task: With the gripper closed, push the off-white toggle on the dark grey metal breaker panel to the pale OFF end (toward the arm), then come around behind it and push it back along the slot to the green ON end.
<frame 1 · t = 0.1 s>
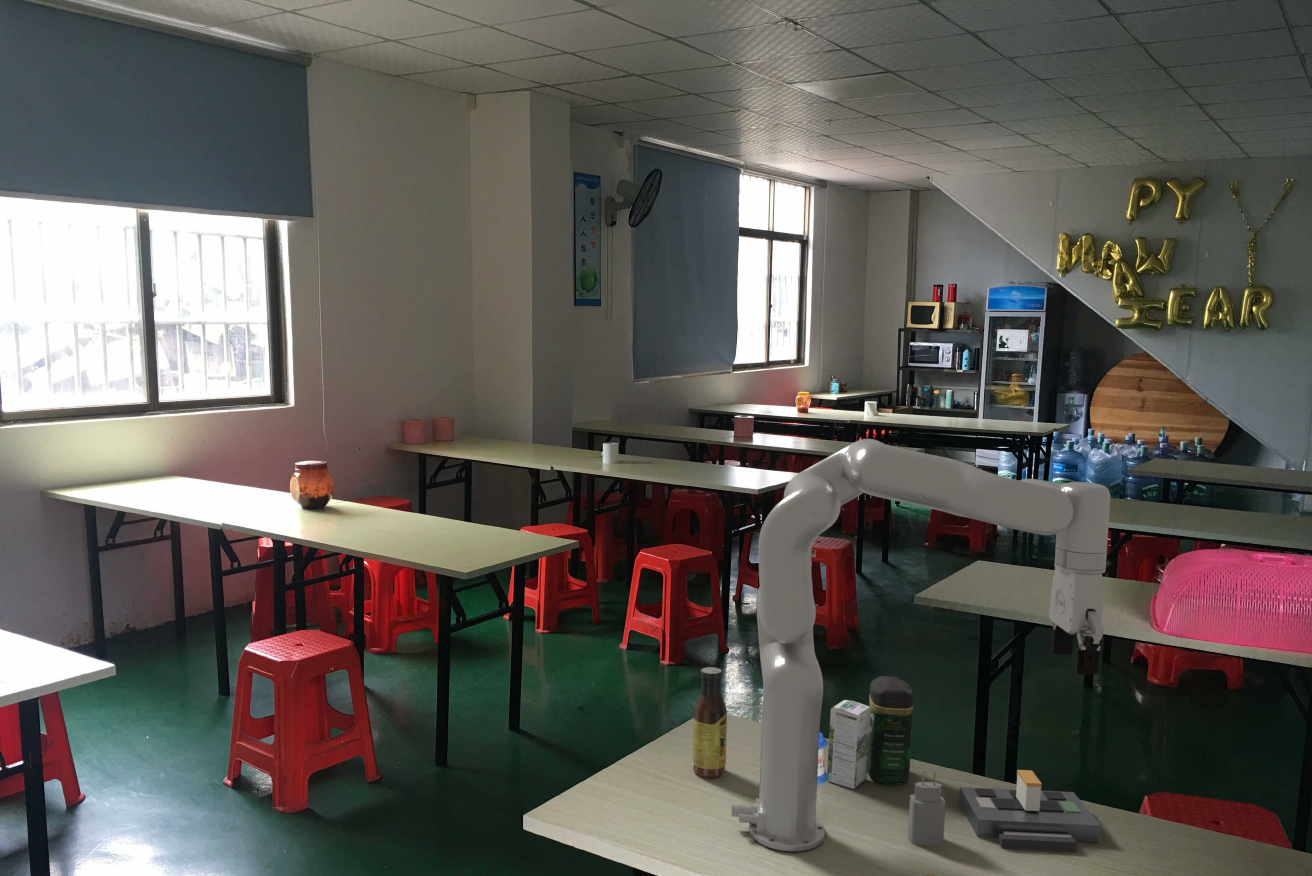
hand: (1073, 663, 158), 31 cm above the table, fingers open, 9 cm apart
syrup box: (847, 781, 184), on the table
coffee jar: (887, 776, 186), on the table
cord bundle back: (1001, 799, 177), on the table
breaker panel: (1026, 821, 169), on the table
dark grey bar: (1037, 847, 161), on the table
sauce bottle: (708, 772, 186), on the table
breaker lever: (1028, 790, 168), point 6 cm above the table, slide at 4.0 cm
power adapter: (925, 841, 162), on the table
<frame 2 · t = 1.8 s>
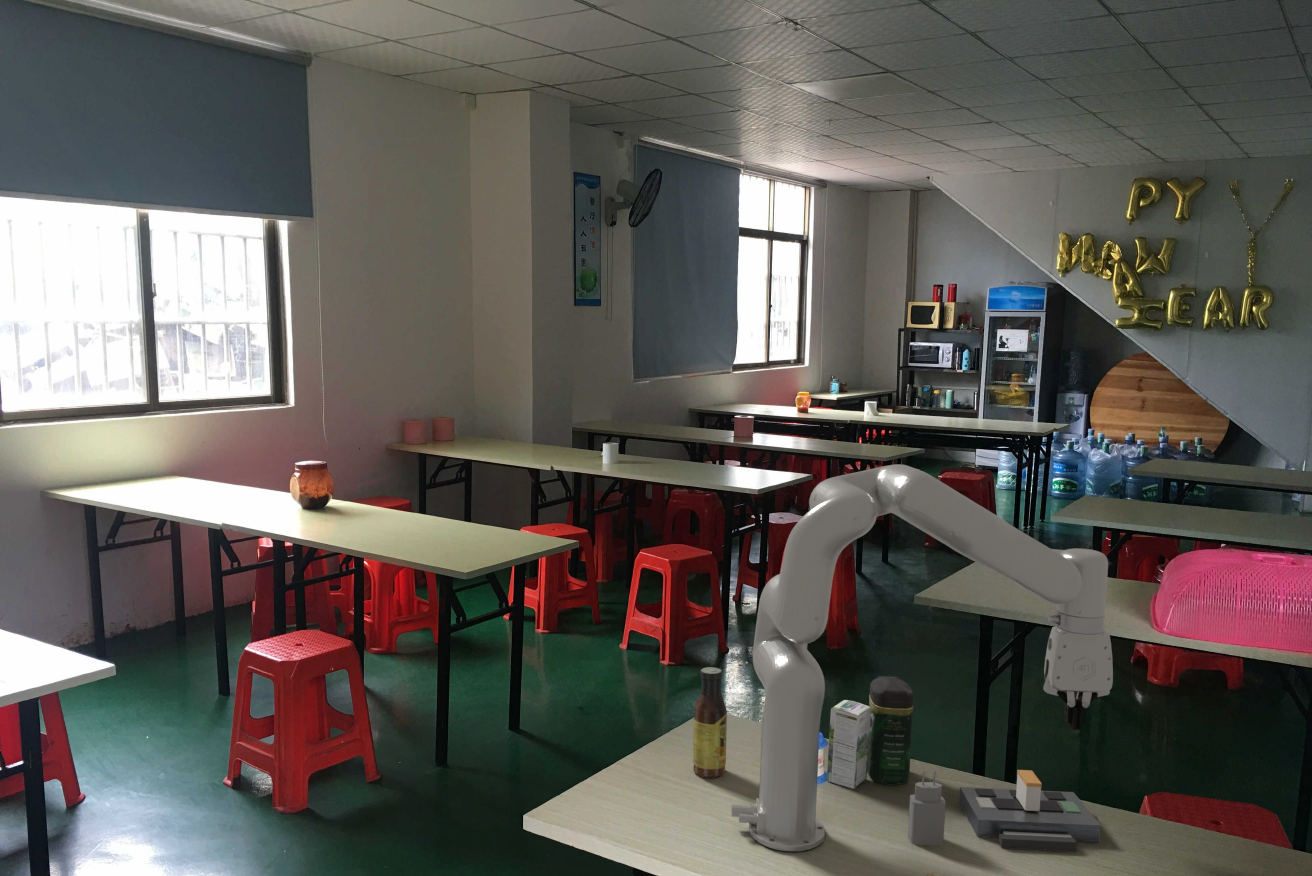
hand: (1074, 726, 167), 17 cm above the table, fingers closed
nothing on the table moved.
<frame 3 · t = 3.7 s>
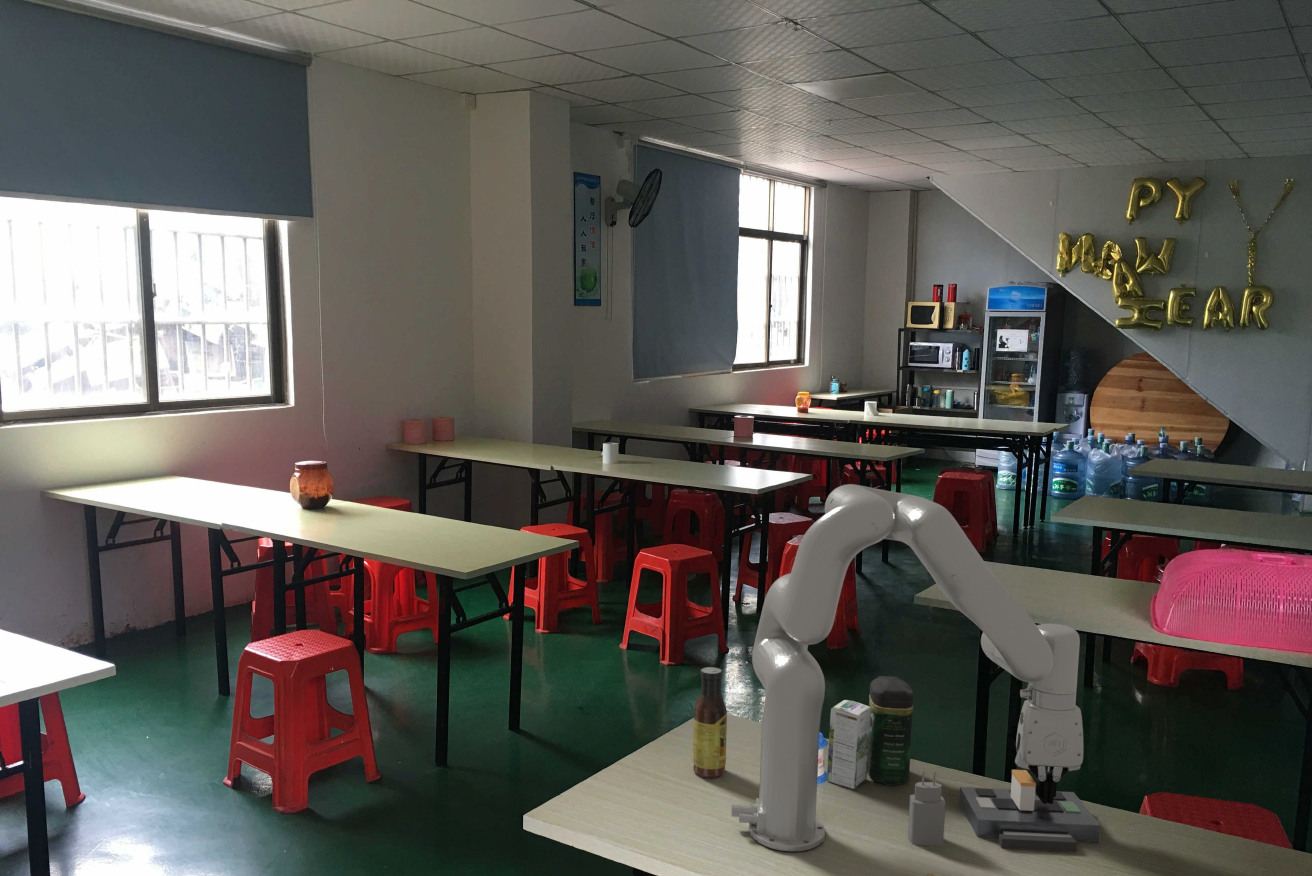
hand: (1045, 799, 168), 4 cm above the table, fingers closed
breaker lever: (1022, 789, 169), point 6 cm above the table, slide at 3.0 cm, touching gripper
everything else where it was.
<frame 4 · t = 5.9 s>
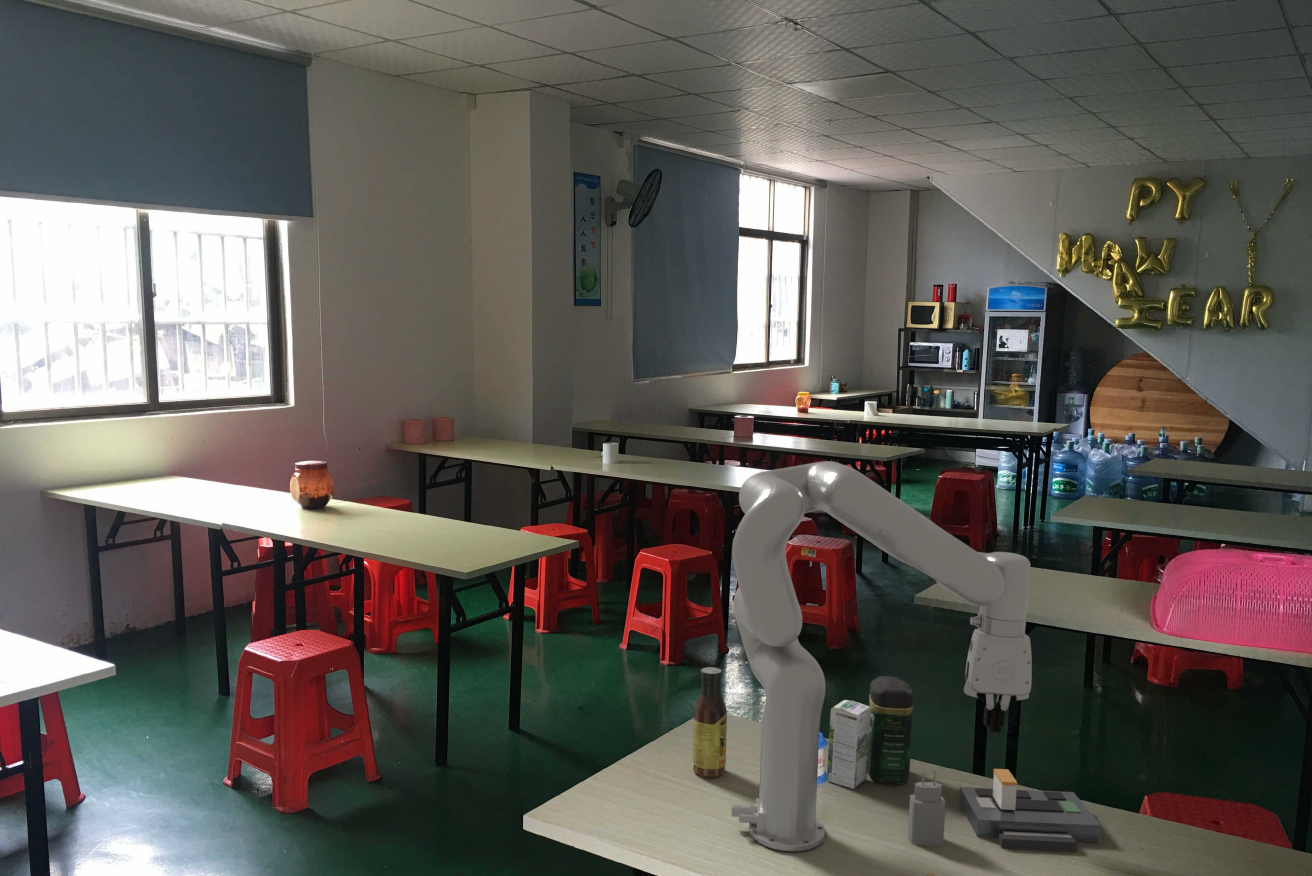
hand: (992, 729, 168), 16 cm above the table, fingers closed
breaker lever: (1004, 788, 169), point 6 cm above the table, slide at -0.1 cm
everything else where it was.
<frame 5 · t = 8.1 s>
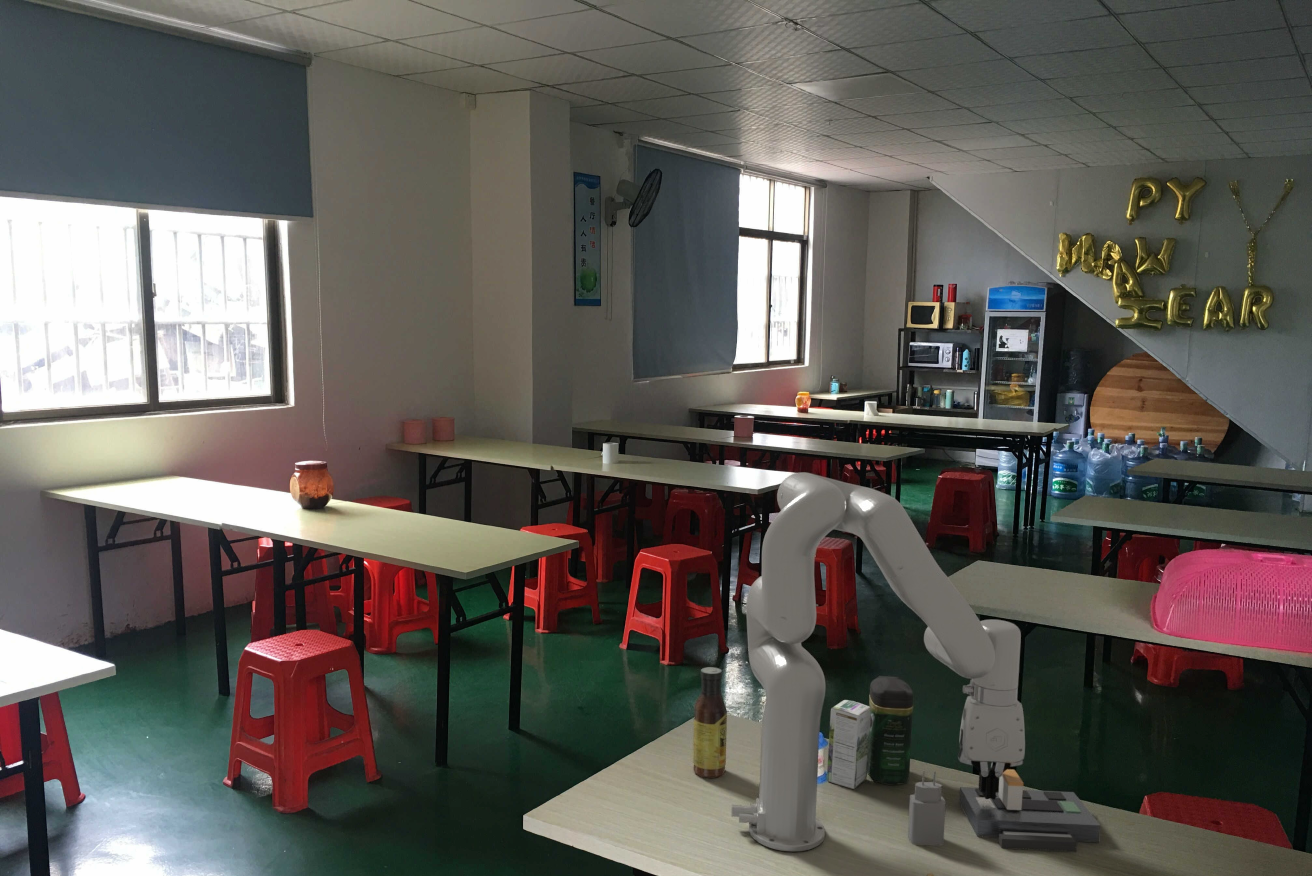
hand: (988, 795, 169), 4 cm above the table, fingers closed
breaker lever: (1010, 789, 169), point 6 cm above the table, slide at 1.0 cm, touching gripper
everything else where it was.
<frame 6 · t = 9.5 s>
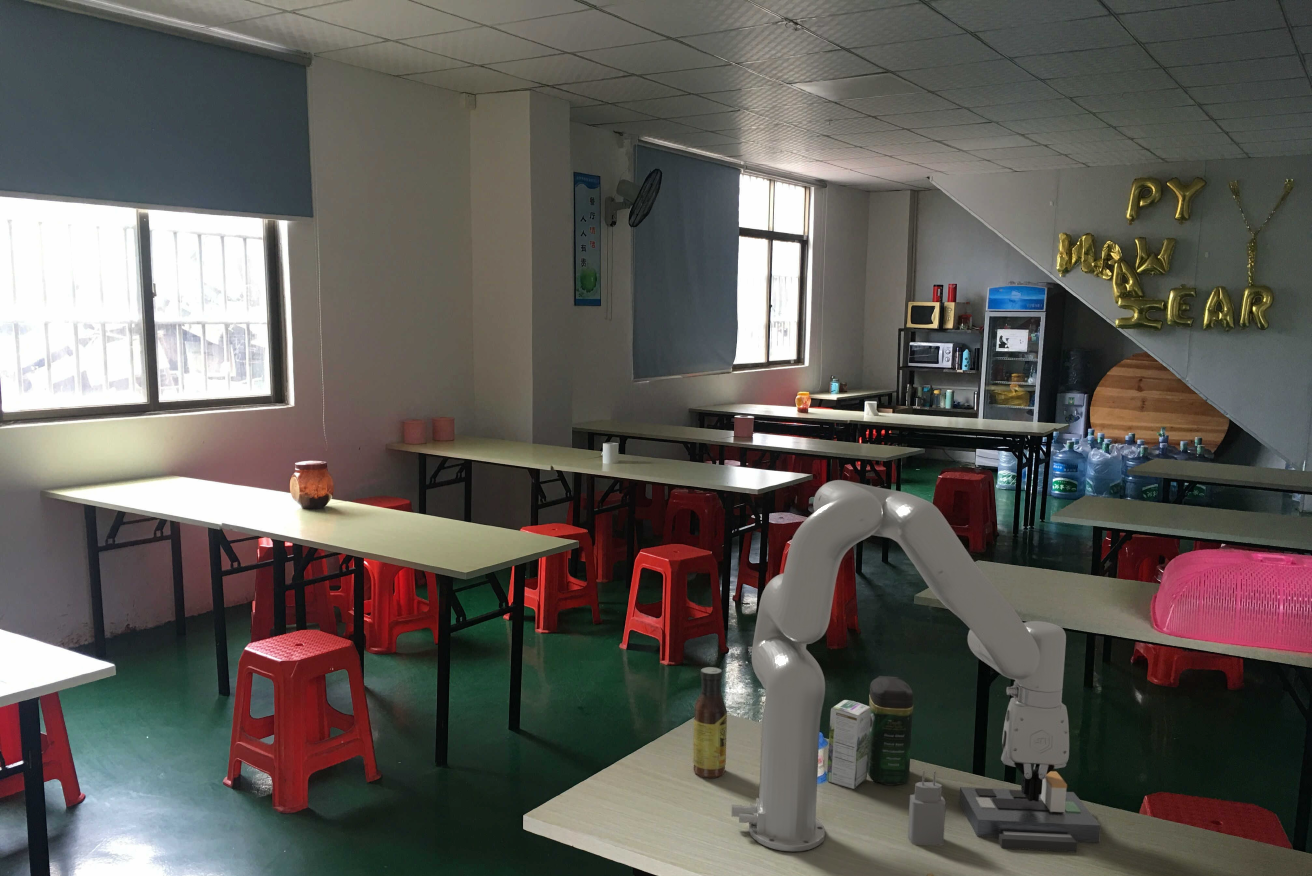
hand: (1030, 797, 169), 4 cm above the table, fingers closed
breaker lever: (1053, 791, 168), point 6 cm above the table, slide at 8.2 cm, touching gripper
everything else where it was.
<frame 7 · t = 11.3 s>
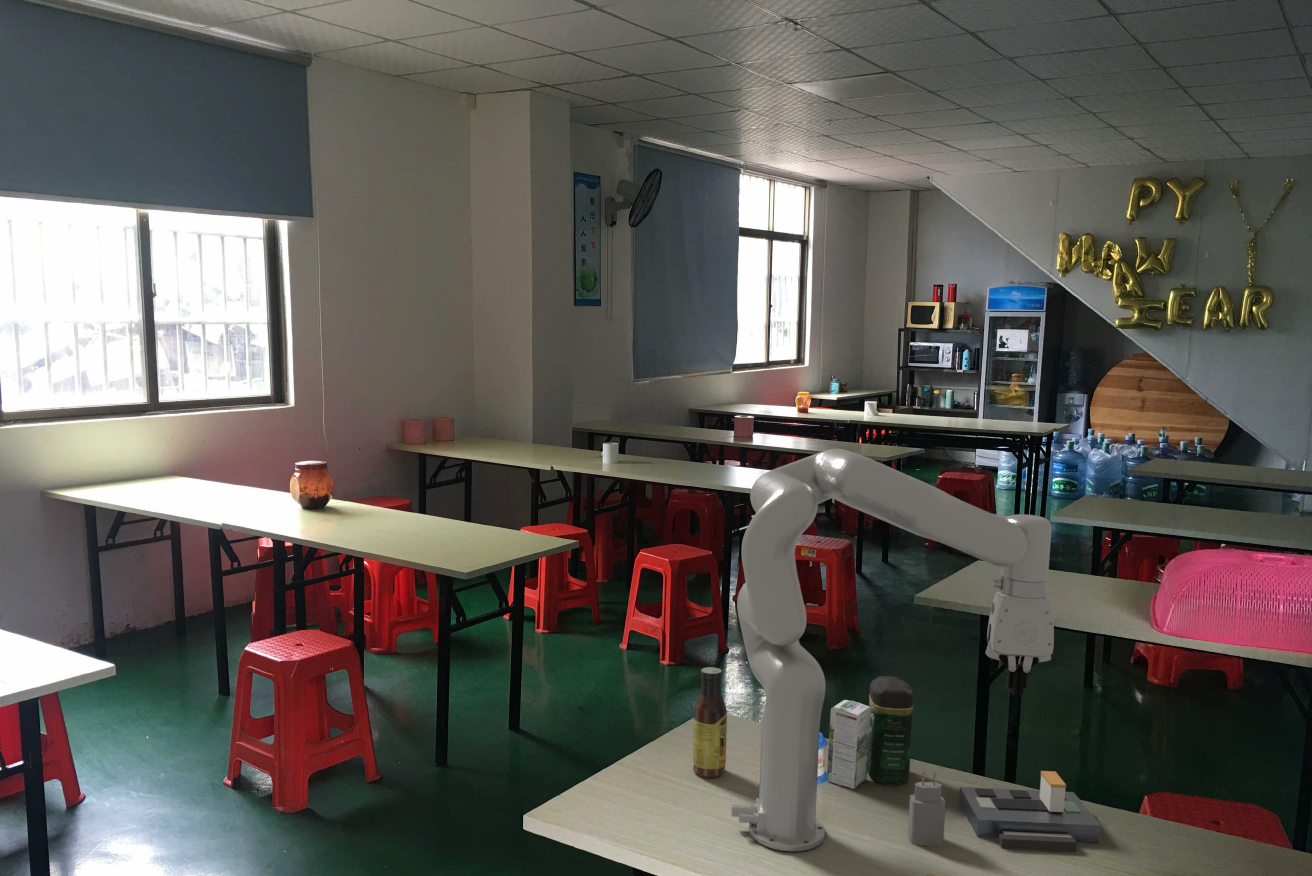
hand: (1015, 691, 168), 23 cm above the table, fingers closed
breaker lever: (1052, 791, 168), point 6 cm above the table, slide at 8.1 cm
everything else where it was.
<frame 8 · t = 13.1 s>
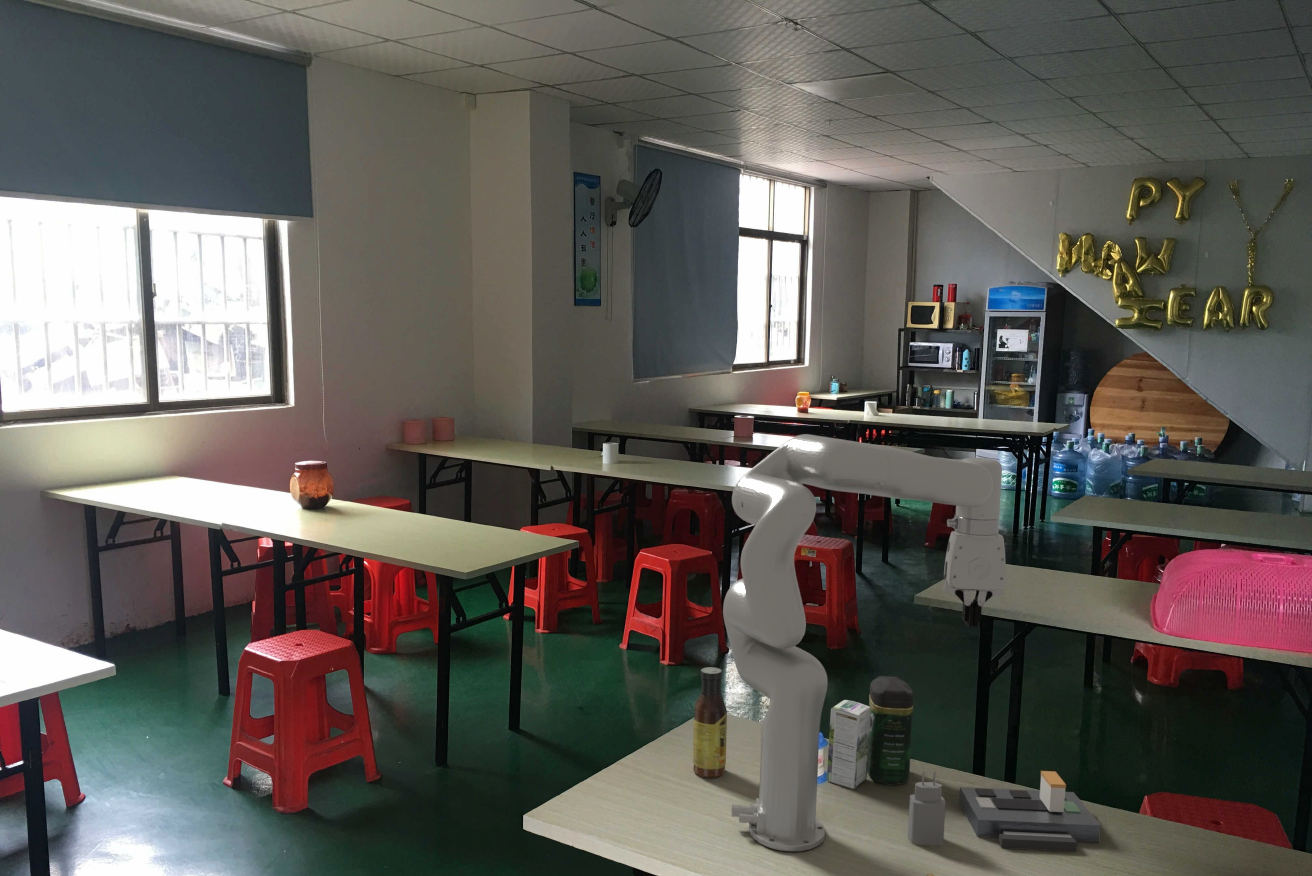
hand: (971, 625, 178), 31 cm above the table, fingers closed
nothing on the table moved.
at the end: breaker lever slide at 8.1 cm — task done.
